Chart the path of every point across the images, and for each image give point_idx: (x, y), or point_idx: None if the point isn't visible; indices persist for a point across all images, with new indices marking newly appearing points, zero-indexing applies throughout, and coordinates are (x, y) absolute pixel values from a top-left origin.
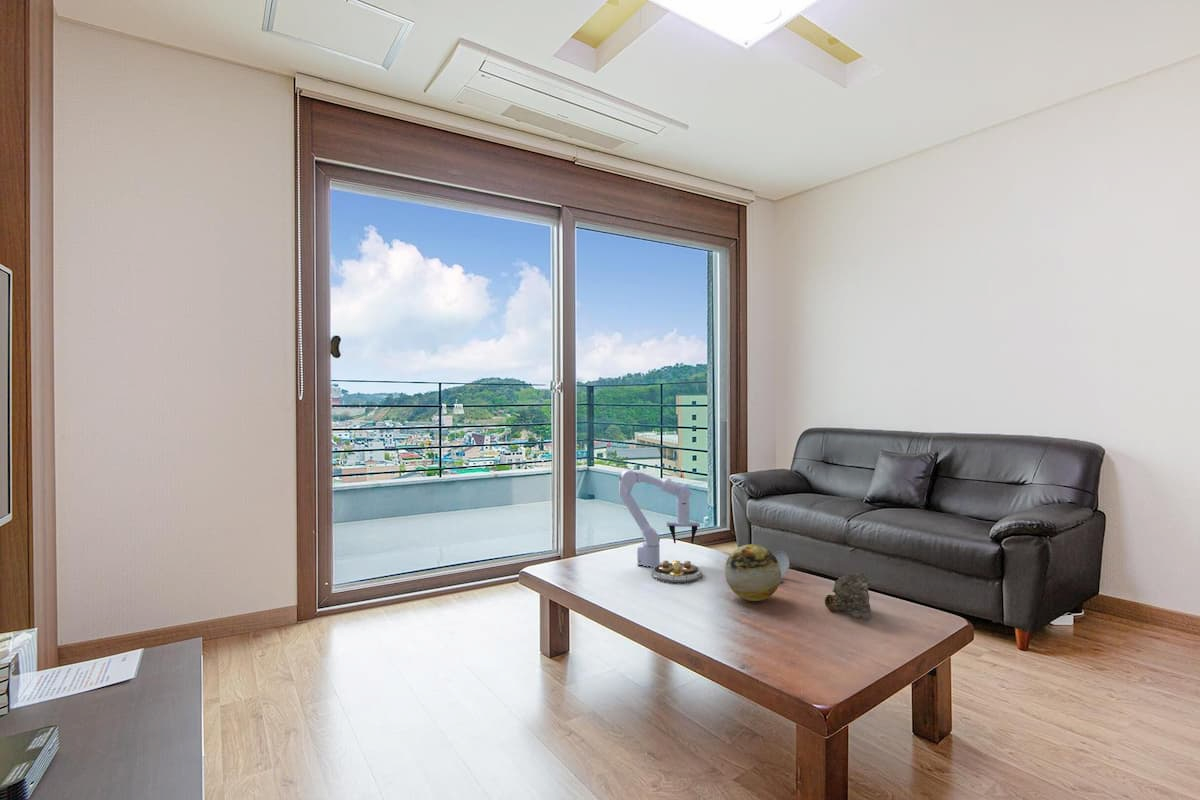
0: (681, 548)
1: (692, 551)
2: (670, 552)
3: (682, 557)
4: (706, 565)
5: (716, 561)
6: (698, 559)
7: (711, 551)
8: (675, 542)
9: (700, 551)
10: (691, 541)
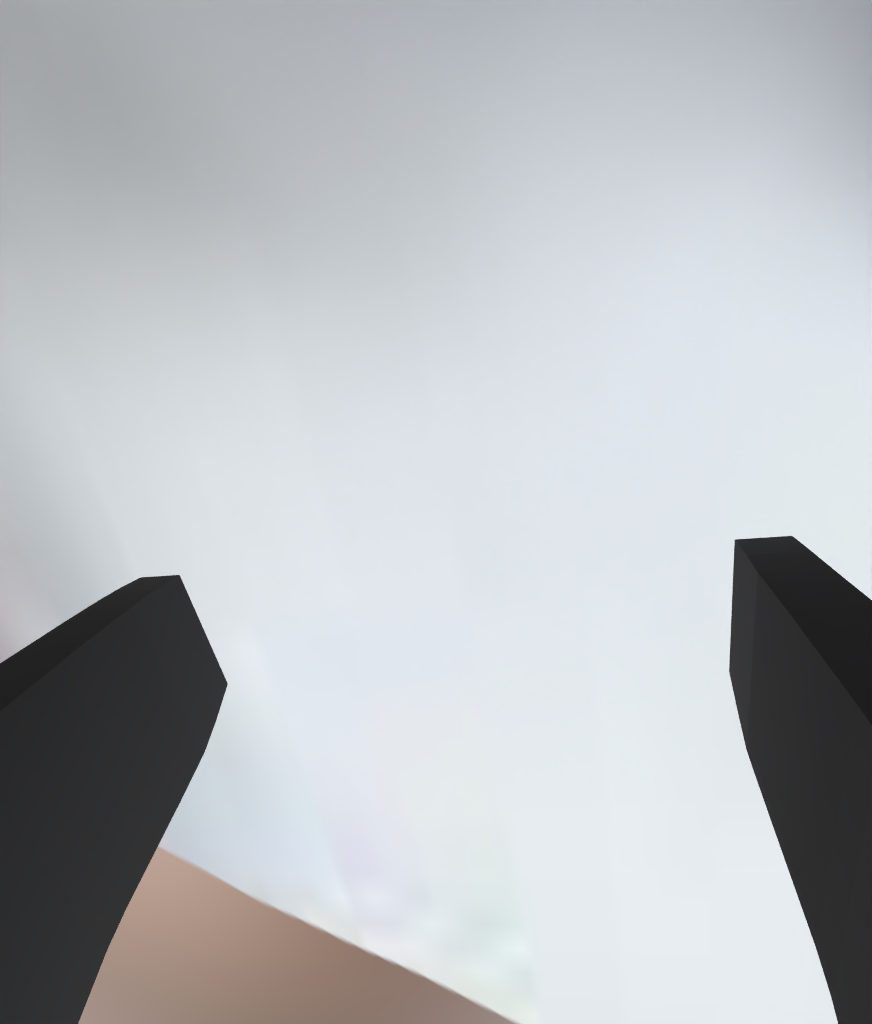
0: (602, 970)
1: (466, 893)
2: (736, 864)
3: (559, 696)
4: (121, 363)
5: (78, 580)
6: (326, 635)
7: (271, 893)
8: (742, 551)
9: (380, 893)
10: (134, 603)
